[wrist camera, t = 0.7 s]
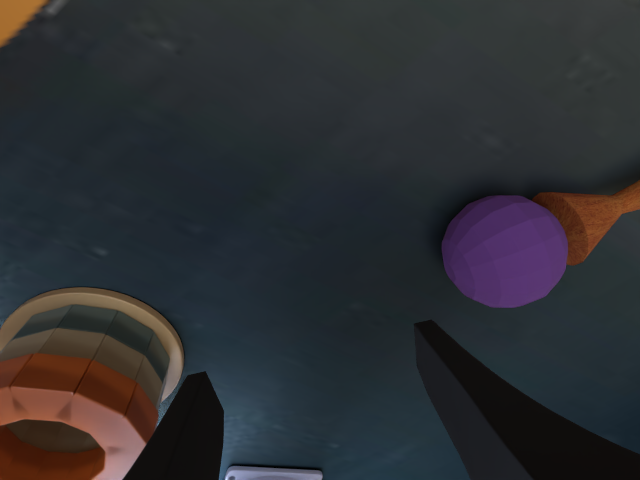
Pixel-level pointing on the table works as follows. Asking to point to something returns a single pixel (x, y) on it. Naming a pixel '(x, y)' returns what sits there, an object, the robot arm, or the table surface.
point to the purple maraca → (526, 242)
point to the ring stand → (92, 349)
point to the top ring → (72, 417)
